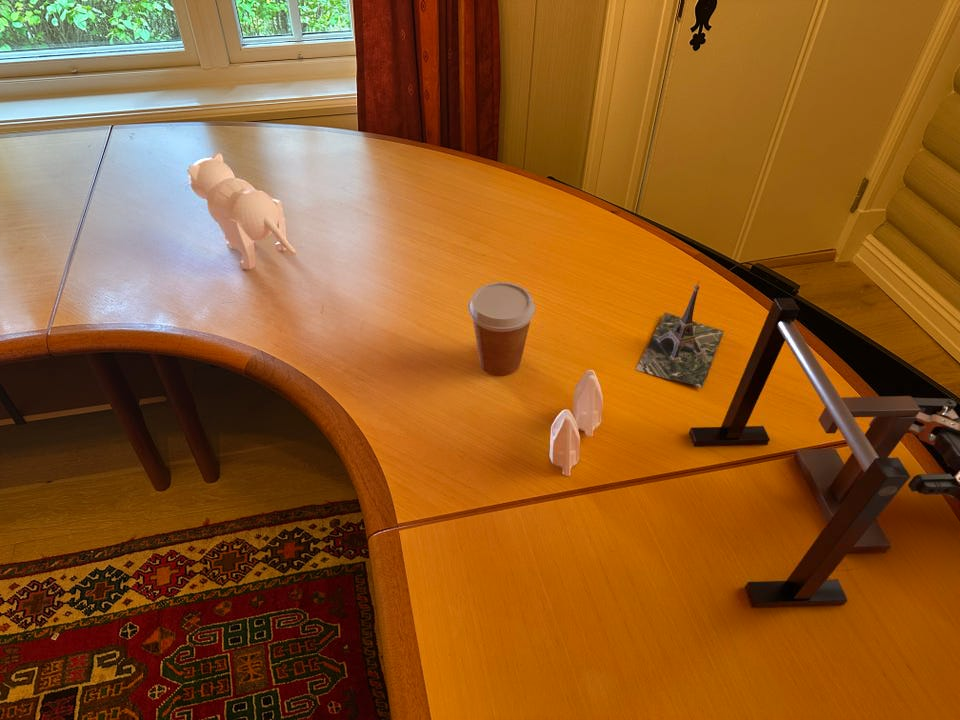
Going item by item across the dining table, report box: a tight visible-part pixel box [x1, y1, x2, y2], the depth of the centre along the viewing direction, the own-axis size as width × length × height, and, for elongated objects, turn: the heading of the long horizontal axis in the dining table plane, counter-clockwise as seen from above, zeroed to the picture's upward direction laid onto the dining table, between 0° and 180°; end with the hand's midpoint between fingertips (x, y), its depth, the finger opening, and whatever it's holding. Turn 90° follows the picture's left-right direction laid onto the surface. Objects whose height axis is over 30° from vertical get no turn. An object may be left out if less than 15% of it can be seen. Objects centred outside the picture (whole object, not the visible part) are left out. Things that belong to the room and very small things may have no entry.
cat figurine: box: [180, 152, 298, 271], centre depth 110 cm, size 25×10×17 cm, turn 56°
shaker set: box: [548, 369, 604, 477], centre depth 78 cm, size 12×4×11 cm, turn 148°
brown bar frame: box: [793, 395, 921, 555], centre depth 69 cm, size 10×14×18 cm
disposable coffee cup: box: [467, 281, 536, 377], centre depth 89 cm, size 10×10×12 cm
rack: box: [688, 297, 911, 609], centre depth 66 cm, size 24×10×23 cm, turn 2°
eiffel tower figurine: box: [634, 280, 725, 388], centre depth 90 cm, size 15×10×13 cm
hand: (892, 451), depth 68 cm, fingers open, 8 cm apart
